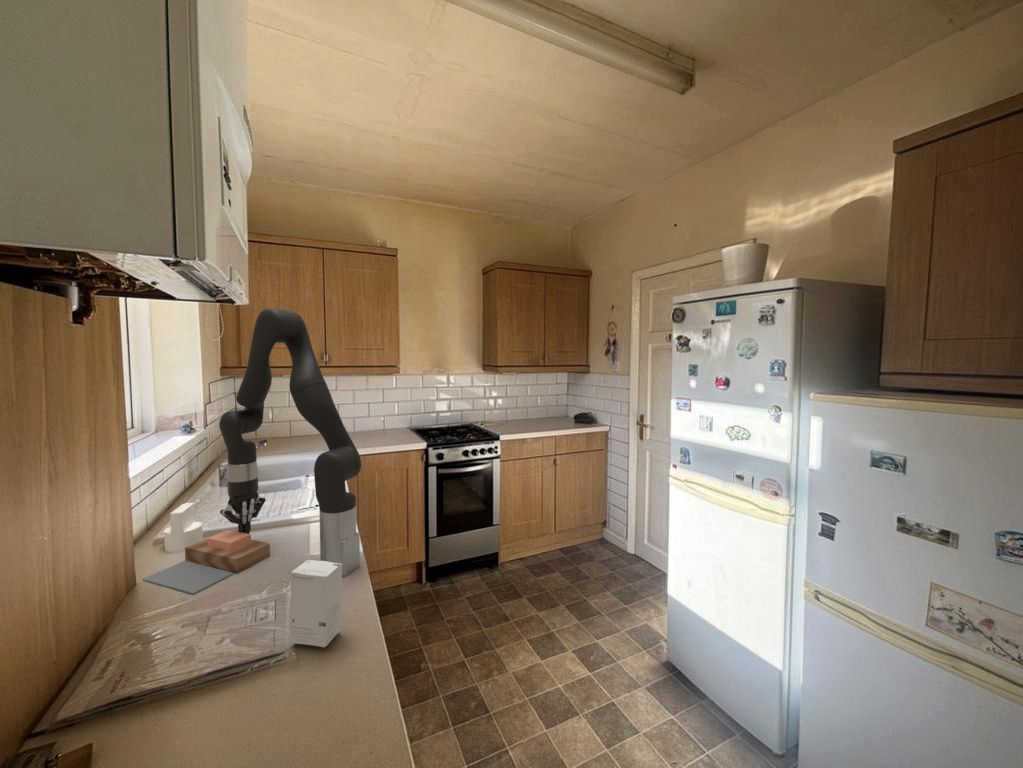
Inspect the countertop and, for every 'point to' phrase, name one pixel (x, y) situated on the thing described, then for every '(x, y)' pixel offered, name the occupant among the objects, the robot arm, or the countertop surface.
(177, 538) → the base with upright slab
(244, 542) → the salmon pink flat block
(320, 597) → the skincare box
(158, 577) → the mat
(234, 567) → the deck
